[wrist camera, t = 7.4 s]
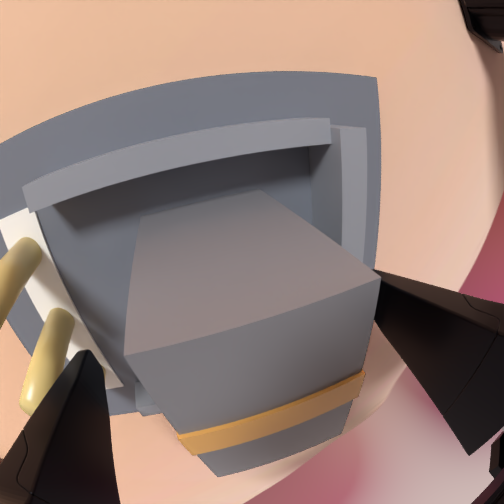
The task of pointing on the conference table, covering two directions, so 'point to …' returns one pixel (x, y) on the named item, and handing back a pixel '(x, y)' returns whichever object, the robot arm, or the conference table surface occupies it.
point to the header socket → (168, 197)
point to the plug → (247, 328)
